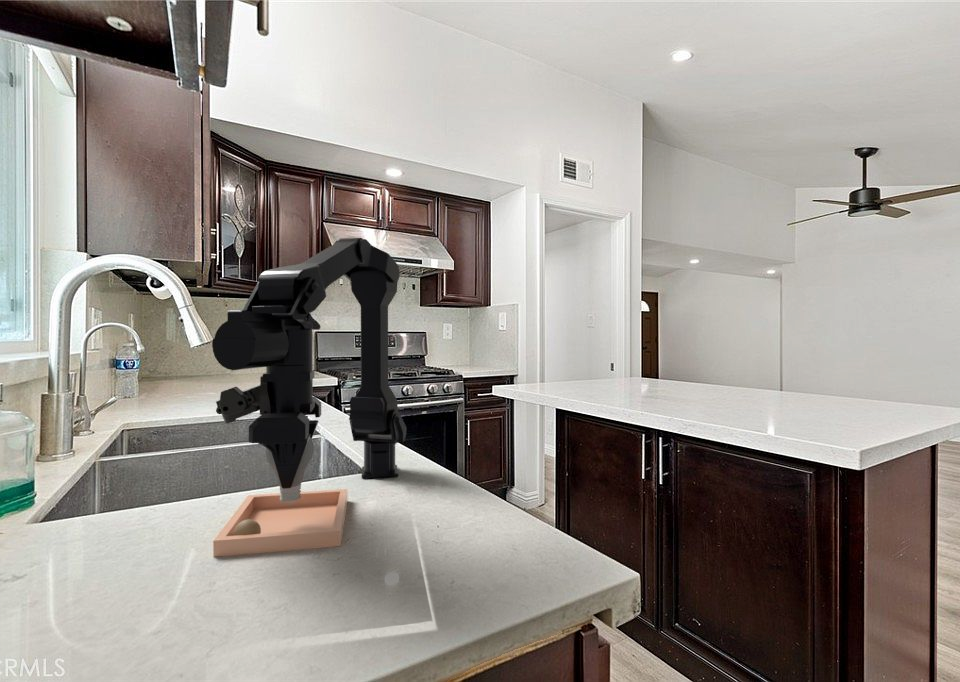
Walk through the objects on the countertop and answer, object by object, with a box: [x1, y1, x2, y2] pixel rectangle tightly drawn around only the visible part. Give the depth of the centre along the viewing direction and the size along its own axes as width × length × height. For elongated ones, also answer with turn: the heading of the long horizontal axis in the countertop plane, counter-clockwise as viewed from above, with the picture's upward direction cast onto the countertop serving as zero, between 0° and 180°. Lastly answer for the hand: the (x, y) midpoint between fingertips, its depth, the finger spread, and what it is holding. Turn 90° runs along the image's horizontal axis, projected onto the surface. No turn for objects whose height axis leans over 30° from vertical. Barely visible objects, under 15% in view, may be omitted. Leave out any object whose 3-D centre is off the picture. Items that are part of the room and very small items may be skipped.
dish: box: [212, 488, 349, 558], centre depth 65 cm, size 16×14×2 cm
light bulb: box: [265, 437, 315, 504], centre depth 65 cm, size 6×6×10 cm
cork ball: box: [233, 519, 261, 536], centre depth 59 cm, size 3×3×3 cm
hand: (290, 481), depth 65 cm, fingers closed on light bulb, 5 cm apart
